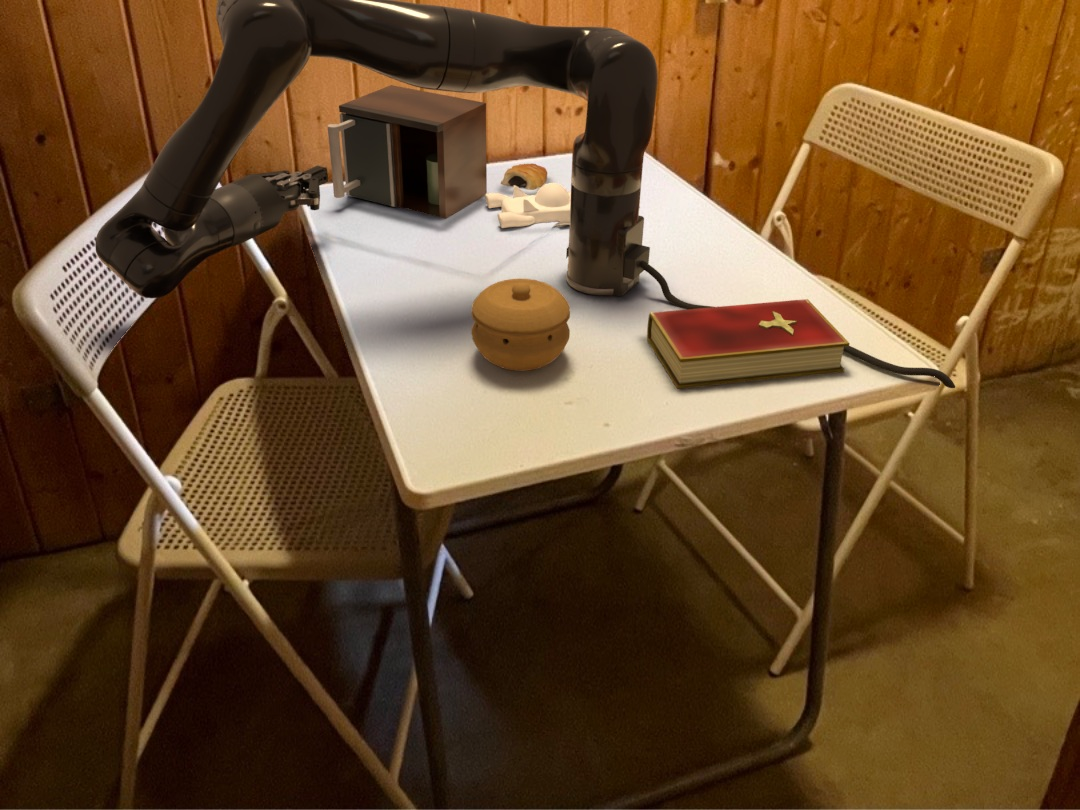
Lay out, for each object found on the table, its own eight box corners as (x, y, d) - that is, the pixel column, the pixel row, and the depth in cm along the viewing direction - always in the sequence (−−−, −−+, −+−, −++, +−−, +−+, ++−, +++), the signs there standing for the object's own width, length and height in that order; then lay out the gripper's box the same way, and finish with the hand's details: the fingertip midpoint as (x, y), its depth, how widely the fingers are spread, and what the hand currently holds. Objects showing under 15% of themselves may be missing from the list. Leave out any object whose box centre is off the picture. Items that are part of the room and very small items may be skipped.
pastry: (520, 173, 176) (521, 152, 174) (556, 179, 174) (557, 158, 172) (498, 191, 168) (498, 169, 166) (535, 198, 166) (536, 175, 164)
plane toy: (625, 226, 157) (627, 190, 154) (500, 238, 152) (500, 202, 149) (603, 201, 165) (605, 167, 162) (484, 212, 161) (484, 177, 157)
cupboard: (441, 229, 155) (437, 125, 146) (347, 205, 162) (338, 105, 153) (486, 201, 165) (486, 102, 156) (396, 180, 172) (391, 84, 163)
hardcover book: (646, 338, 127) (649, 309, 125) (801, 324, 131) (806, 295, 129) (677, 388, 117) (680, 357, 115) (843, 371, 121) (850, 341, 119)
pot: (525, 325, 130) (526, 253, 124) (588, 361, 122) (592, 287, 117) (452, 354, 123) (449, 280, 117) (514, 394, 116) (515, 317, 110)
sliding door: (372, 219, 154) (366, 134, 147) (324, 206, 158) (315, 123, 150) (396, 205, 158) (391, 123, 151) (348, 193, 162) (342, 112, 155)
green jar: (462, 198, 162) (461, 156, 159) (446, 207, 159) (444, 164, 155) (438, 192, 164) (436, 150, 160) (422, 201, 161) (420, 159, 157)
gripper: (273, 195, 128) (358, 156, 141) (196, 175, 133) (285, 139, 146) (280, 249, 132) (362, 207, 145) (205, 228, 137) (290, 189, 150)
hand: (323, 173), depth 145 cm, fingers closed
